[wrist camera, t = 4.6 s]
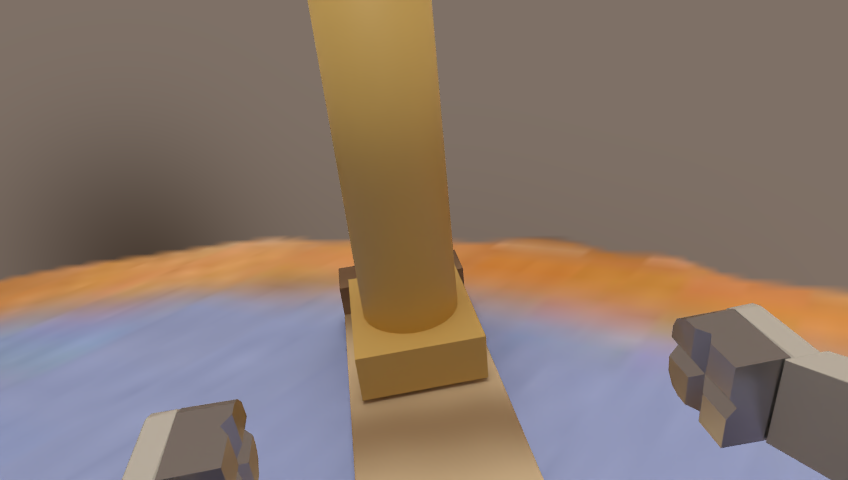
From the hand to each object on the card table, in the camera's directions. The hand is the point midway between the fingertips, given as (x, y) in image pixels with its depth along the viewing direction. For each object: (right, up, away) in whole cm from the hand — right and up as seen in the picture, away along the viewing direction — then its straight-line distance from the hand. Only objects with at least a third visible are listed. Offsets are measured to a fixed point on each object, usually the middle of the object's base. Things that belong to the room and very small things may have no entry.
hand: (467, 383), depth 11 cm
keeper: (-1, -2, +14) cm, 15 cm away
